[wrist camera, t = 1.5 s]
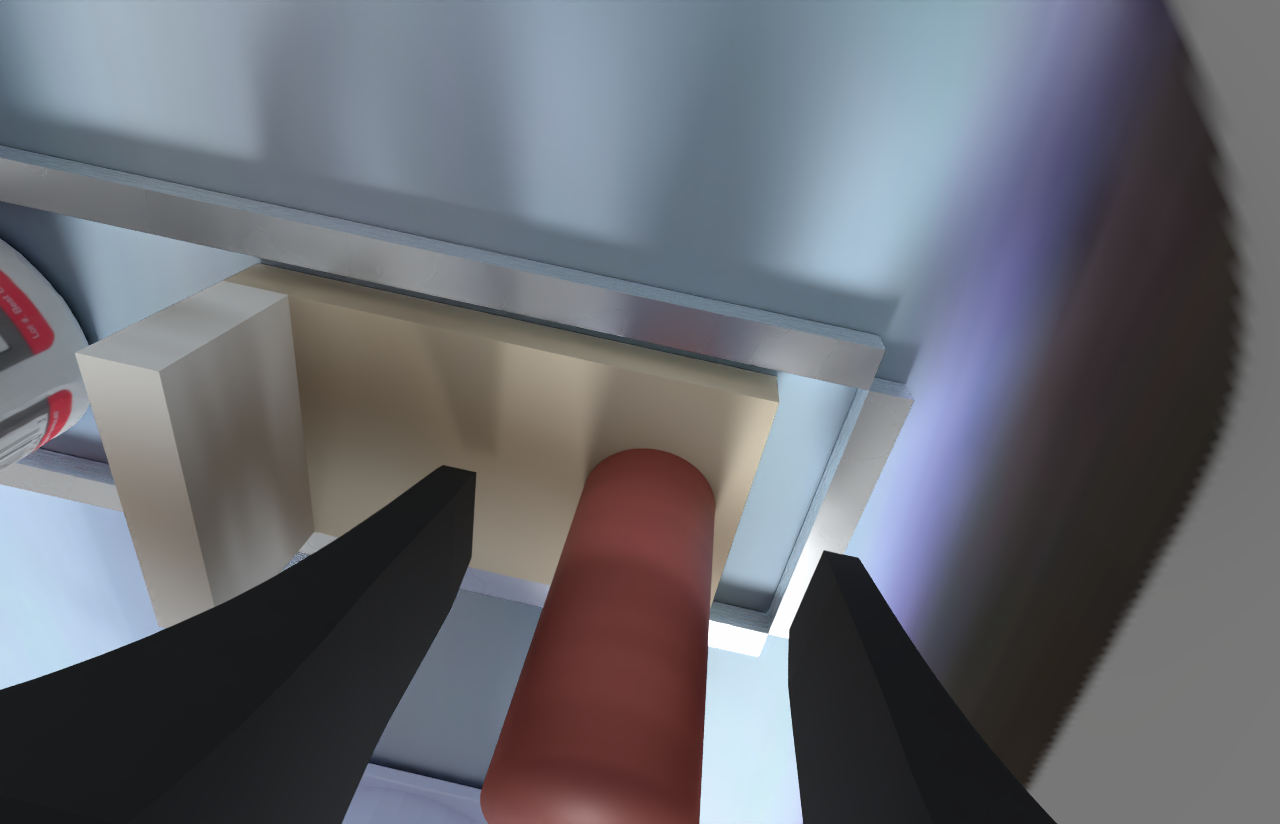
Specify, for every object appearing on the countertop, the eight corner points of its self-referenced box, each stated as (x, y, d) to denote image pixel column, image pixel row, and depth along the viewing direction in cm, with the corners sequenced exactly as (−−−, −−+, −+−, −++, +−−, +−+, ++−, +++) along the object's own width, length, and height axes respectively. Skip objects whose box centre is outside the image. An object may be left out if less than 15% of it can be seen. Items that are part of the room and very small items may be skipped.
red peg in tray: (708, 587, 15) (687, 955, 9) (288, 492, 15) (-1, 790, 9) (776, 376, 12) (812, 712, 6) (257, 262, 12) (-192, 482, 6)
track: (790, 644, 16) (792, 664, 15) (-80, 446, 16) (-106, 459, 16) (924, 345, 12) (932, 359, 11) (-251, 91, 12) (-295, 94, 11)
